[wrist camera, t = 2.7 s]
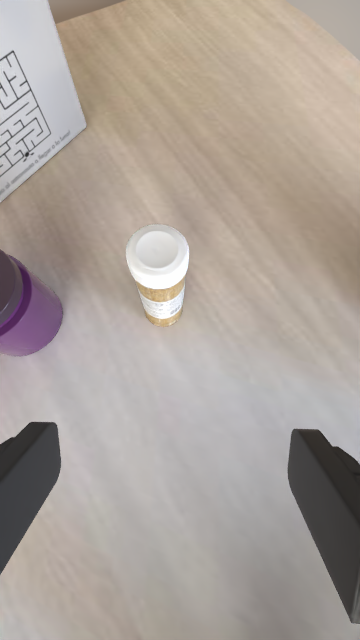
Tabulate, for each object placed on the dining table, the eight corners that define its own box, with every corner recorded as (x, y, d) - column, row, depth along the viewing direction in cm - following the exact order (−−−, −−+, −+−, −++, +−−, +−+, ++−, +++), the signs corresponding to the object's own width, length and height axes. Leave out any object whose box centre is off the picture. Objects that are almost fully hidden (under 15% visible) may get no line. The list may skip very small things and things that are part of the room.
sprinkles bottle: (167, 284, 32) (164, 210, 19) (190, 313, 31) (203, 255, 18) (136, 305, 31) (111, 243, 18) (159, 335, 30) (149, 291, 18)
